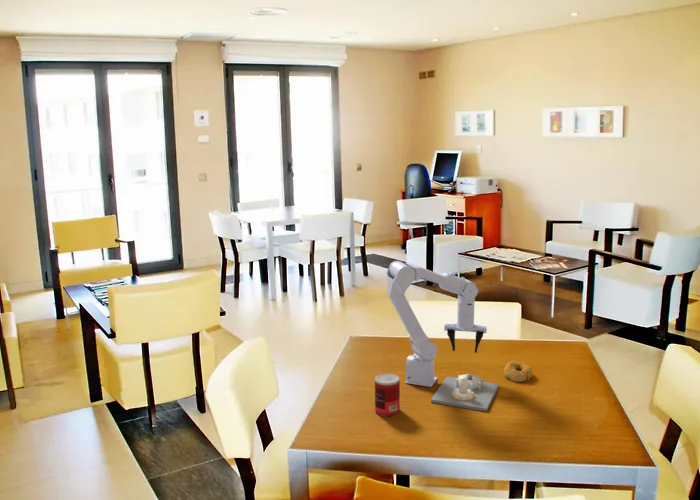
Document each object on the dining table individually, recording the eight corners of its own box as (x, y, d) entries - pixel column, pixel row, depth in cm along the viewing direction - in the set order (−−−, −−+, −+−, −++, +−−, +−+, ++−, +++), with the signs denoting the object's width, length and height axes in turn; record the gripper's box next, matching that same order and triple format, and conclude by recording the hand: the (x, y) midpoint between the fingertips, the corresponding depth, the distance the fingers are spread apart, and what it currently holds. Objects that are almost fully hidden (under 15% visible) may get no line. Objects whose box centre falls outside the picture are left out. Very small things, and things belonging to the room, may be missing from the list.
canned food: (402, 407, 206) (402, 374, 203) (395, 418, 198) (395, 384, 196) (379, 404, 208) (379, 372, 206) (371, 414, 201) (371, 381, 198)
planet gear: (450, 397, 209) (450, 379, 208) (456, 390, 215) (456, 372, 214) (469, 401, 206) (470, 383, 205) (475, 393, 212) (475, 375, 211)
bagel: (502, 381, 224) (502, 368, 223) (505, 370, 235) (505, 357, 234) (531, 385, 221) (532, 372, 220) (533, 373, 231) (534, 361, 231)
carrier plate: (430, 402, 209) (431, 389, 208) (446, 379, 227) (447, 367, 226) (486, 411, 202) (487, 398, 201) (498, 386, 220) (498, 374, 219)
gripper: (443, 316, 222) (443, 353, 225) (486, 318, 219) (485, 356, 222) (445, 310, 229) (444, 346, 232) (487, 312, 226) (486, 349, 228)
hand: (464, 350), depth 227 cm, fingers open, 7 cm apart
